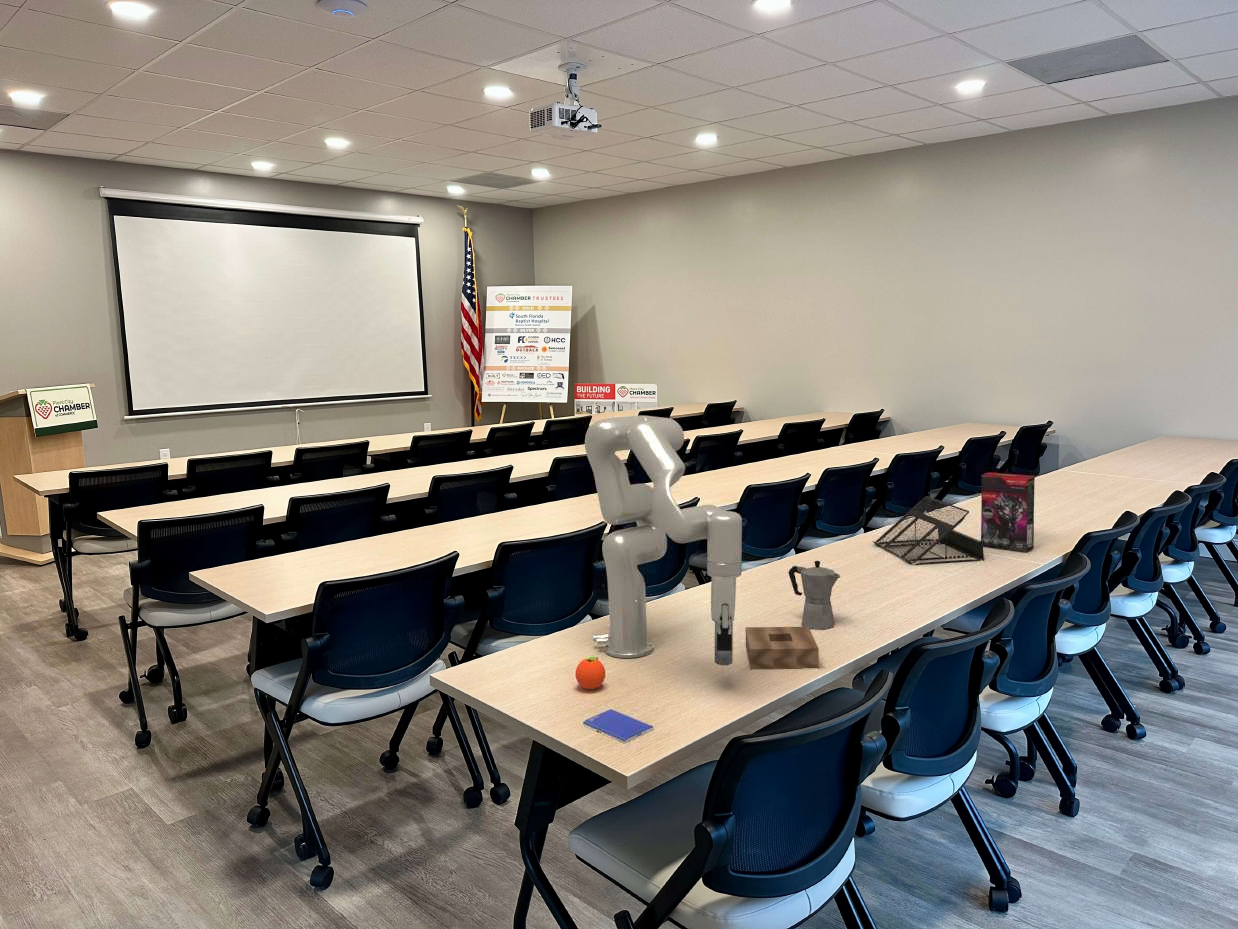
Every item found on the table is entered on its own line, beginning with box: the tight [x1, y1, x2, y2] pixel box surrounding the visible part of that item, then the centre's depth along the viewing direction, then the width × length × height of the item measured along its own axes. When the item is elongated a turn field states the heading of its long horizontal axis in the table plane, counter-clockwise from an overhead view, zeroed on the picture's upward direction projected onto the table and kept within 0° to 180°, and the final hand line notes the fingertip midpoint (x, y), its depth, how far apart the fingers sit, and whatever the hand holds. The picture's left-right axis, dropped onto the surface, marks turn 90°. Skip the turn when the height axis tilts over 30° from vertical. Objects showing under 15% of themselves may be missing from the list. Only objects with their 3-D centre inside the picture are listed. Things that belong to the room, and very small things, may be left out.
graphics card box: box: [980, 472, 1036, 553], centre depth 304 cm, size 17×7×27 cm, turn 43°
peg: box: [714, 617, 734, 666], centre depth 187 cm, size 4×4×12 cm
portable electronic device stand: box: [872, 495, 985, 566], centre depth 303 cm, size 33×28×18 cm
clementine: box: [574, 656, 606, 690], centre depth 192 cm, size 8×7×7 cm
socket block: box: [744, 626, 820, 670], centre depth 206 cm, size 16×16×5 cm
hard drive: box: [582, 708, 655, 745], centre depth 171 cm, size 2×8×12 cm
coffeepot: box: [788, 560, 841, 631], centre depth 229 cm, size 15×9×18 cm, turn 49°
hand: (723, 645), depth 187 cm, fingers closed on peg, 4 cm apart
